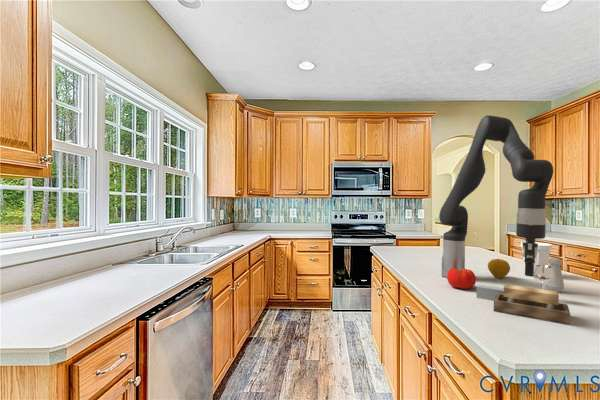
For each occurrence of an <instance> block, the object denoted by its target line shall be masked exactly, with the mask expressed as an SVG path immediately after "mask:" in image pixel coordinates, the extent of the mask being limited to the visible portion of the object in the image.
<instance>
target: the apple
mask: <svg viewBox="0 0 600 400" xmlns="http://www.w3.org/2000/svg"><path fill="white" fill-rule="evenodd" d="M487 269H488V271H489V273H491V275H492V276H493V277H494V278H496V279H499V278H502V279H504V278H505V277H506V276H507V275H508V274H509V273H510V271H511V266H510V263H509V262H508V261H507V260H505V259H501V258H493V259H491V260H490V261H488V263H487Z"/></svg>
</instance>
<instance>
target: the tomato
mask: <svg viewBox="0 0 600 400" xmlns="http://www.w3.org/2000/svg"><path fill="white" fill-rule="evenodd" d="M446 280H447V282H448V284H449V285H450V286H451V287H453V288H455V289H461V290H466V289H470V288H473V287H475V285H476V283H477V276H476V274H475V273H474V271H473V270H471V269H467V268H465V269H464V268H463V269H459V270H457V269H455V268H452V269H450V270H449V271H448V273H447V278H446Z"/></svg>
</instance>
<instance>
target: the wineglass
mask: <svg viewBox="0 0 600 400" xmlns="http://www.w3.org/2000/svg"><path fill="white" fill-rule="evenodd" d="M533 278H534V279H535V282H537V283H540V284H541V285H542V286H541V289H542V290H546V284H549V283H551V282H553V280H554V273H553V269H552V267H551V266H550V265H548V266H545V265H536V267H535V271H534V277H533Z"/></svg>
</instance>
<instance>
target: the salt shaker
mask: <svg viewBox="0 0 600 400" xmlns="http://www.w3.org/2000/svg"><path fill="white" fill-rule="evenodd" d="M548 265H549V266H551V267H552V269H553V273H554V280H553V282H551V283H549V284H545V287H547V290H549V291H557V292H558V294H560V293H562V292H563V290H564V289H565V283H564V277H563V273H562V269H561V266H562V265H563V260H562V259H561V258H559V257H558V258H557V257H551V258H550V257H549V261H548Z"/></svg>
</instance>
